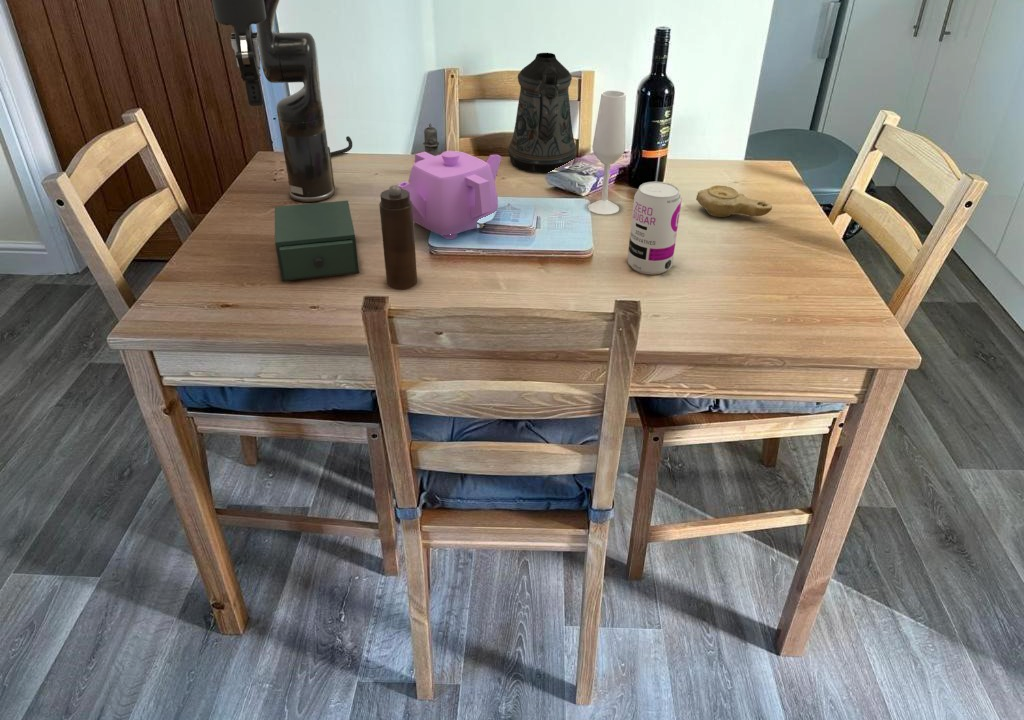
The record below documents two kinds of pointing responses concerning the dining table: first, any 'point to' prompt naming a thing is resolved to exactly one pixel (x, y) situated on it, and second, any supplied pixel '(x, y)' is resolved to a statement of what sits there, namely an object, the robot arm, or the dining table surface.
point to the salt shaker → (431, 140)
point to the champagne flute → (609, 142)
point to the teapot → (452, 191)
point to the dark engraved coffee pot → (543, 117)
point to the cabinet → (313, 227)
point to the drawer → (317, 259)
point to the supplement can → (654, 227)
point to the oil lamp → (730, 202)
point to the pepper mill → (398, 238)
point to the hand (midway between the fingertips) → (256, 104)
